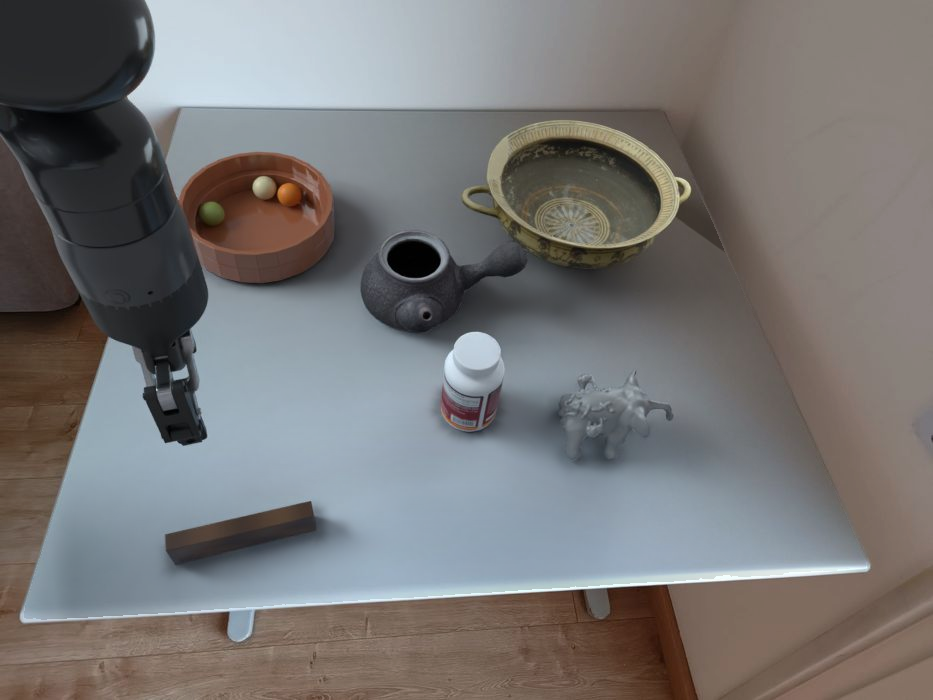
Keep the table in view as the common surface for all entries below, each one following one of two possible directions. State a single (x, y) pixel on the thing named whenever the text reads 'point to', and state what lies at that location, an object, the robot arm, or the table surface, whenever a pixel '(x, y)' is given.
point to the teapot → (426, 279)
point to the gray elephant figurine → (606, 414)
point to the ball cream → (264, 187)
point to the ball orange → (289, 194)
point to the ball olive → (211, 213)
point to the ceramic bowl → (579, 193)
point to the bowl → (259, 218)
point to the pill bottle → (472, 382)
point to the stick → (240, 532)
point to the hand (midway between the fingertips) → (188, 393)
